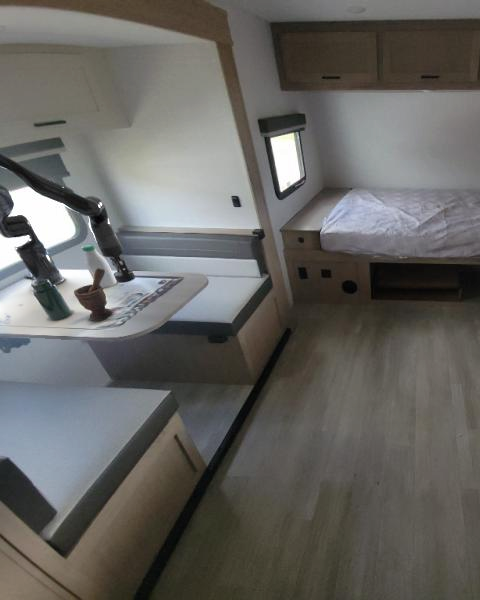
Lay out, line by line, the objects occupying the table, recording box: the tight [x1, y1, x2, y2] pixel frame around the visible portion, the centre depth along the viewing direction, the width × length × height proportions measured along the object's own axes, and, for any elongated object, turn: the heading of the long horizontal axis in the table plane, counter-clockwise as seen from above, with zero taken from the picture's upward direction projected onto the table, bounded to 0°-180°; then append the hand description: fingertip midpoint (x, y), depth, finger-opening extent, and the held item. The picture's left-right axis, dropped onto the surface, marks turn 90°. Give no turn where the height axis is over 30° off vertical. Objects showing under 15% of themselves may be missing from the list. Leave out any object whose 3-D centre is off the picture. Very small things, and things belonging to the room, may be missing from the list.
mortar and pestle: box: [73, 268, 113, 322], centre depth 135 cm, size 12×9×20 cm
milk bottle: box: [81, 244, 118, 289], centre depth 156 cm, size 8×8×20 cm
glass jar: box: [30, 279, 73, 321], centre depth 135 cm, size 7×7×16 cm
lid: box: [113, 269, 136, 284], centre depth 152 cm, size 7×7×3 cm
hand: (125, 277), depth 153 cm, fingers closed on lid, 7 cm apart
